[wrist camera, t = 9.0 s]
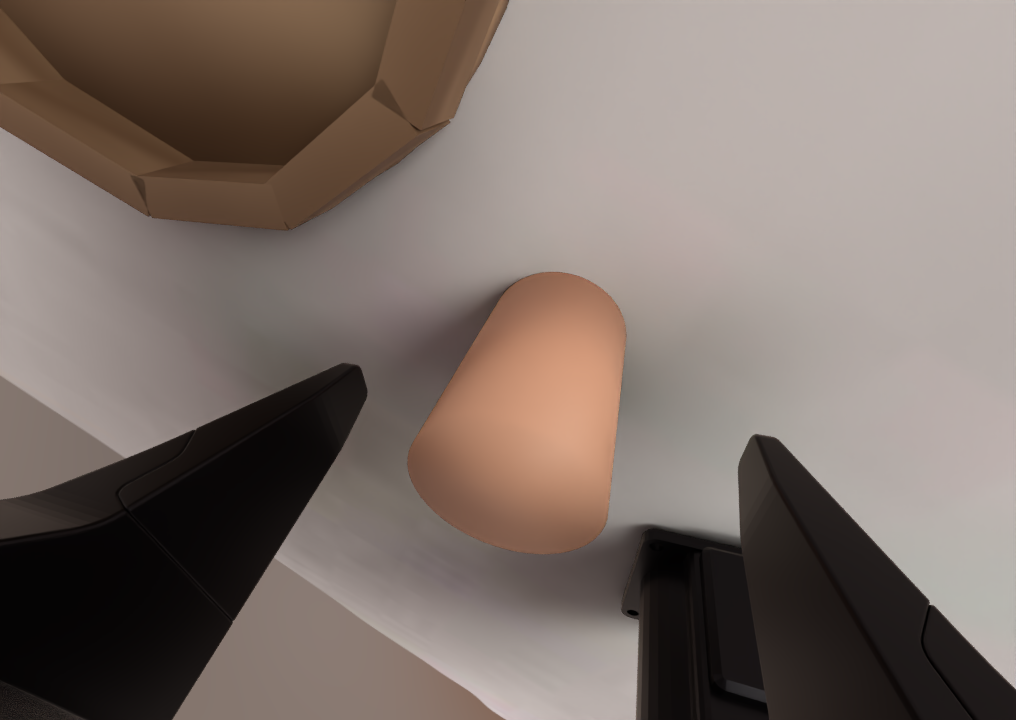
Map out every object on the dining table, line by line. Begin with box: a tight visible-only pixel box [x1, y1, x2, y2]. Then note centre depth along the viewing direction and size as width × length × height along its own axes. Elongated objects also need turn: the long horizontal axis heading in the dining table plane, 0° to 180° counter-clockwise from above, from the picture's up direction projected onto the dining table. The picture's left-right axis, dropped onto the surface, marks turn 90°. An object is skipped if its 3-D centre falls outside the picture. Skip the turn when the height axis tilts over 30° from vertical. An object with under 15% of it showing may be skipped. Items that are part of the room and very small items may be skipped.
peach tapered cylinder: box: [407, 272, 626, 554], centre depth 10 cm, size 4×4×6 cm
